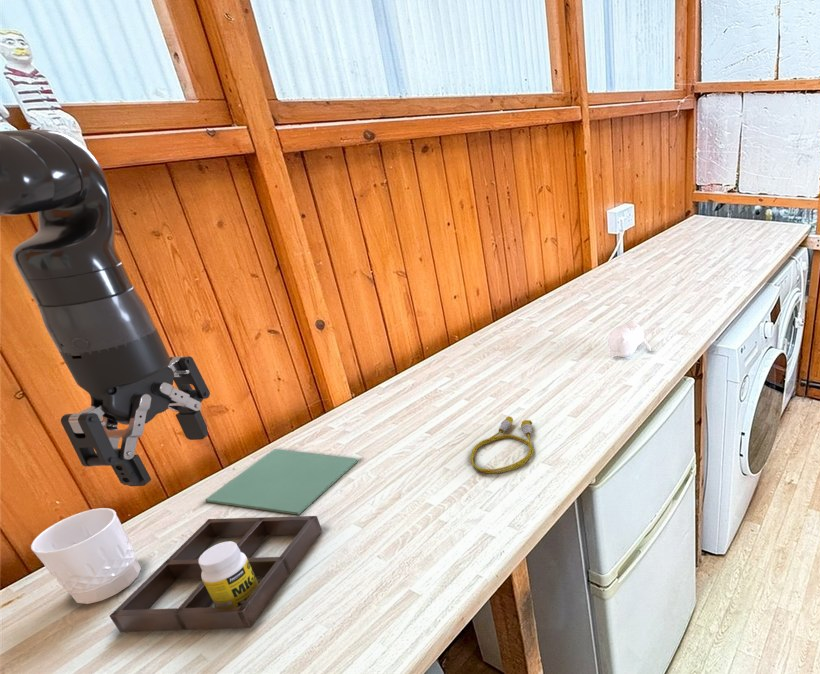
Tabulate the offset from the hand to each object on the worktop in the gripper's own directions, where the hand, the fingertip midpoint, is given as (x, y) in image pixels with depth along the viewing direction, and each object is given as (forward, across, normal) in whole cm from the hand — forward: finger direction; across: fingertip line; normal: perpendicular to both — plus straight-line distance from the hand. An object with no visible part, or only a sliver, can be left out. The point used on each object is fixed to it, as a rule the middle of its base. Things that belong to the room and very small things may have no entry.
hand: (170, 459), depth 61 cm
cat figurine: (+23, -70, +53) cm, 91 cm away
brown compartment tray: (+22, -3, -3) cm, 23 cm away
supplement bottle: (+22, +1, +1) cm, 23 cm away
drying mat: (+22, -23, -8) cm, 33 cm away
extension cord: (+23, -30, +30) cm, 48 cm away
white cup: (+22, -2, -19) cm, 30 cm away
